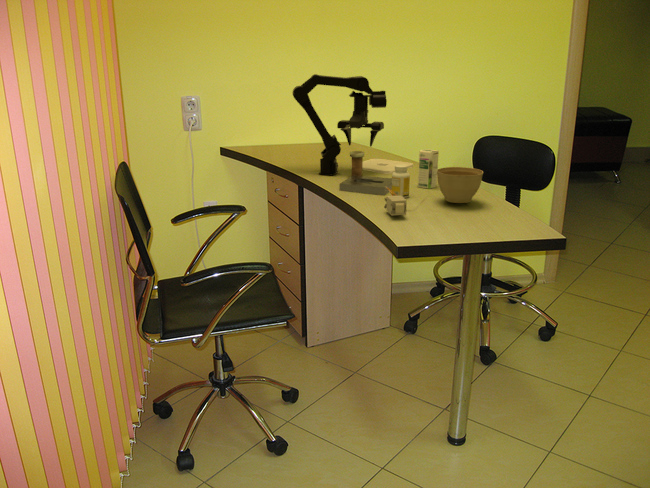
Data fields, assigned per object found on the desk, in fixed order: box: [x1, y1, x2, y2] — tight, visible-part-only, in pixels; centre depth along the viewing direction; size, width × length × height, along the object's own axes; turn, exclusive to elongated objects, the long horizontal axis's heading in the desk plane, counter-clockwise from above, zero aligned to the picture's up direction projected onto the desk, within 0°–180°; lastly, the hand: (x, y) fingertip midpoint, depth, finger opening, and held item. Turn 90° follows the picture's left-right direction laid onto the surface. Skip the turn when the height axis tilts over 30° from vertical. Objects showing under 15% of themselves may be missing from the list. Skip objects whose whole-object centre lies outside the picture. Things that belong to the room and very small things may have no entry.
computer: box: [350, 158, 414, 175], centre depth 274 cm, size 22×22×3 cm
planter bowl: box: [437, 166, 484, 204], centre depth 220 cm, size 16×16×11 cm
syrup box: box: [417, 149, 440, 190], centre depth 240 cm, size 6×6×14 cm
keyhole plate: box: [338, 175, 392, 196], centre depth 239 cm, size 18×16×3 cm
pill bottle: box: [391, 165, 411, 199], centre depth 225 cm, size 6×6×12 cm
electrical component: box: [384, 186, 408, 216], centre depth 213 cm, size 24×6×5 cm, turn 10°
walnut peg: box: [349, 150, 365, 177], centre depth 252 cm, size 6×6×12 cm
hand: (360, 145), depth 256 cm, fingers open, 9 cm apart
